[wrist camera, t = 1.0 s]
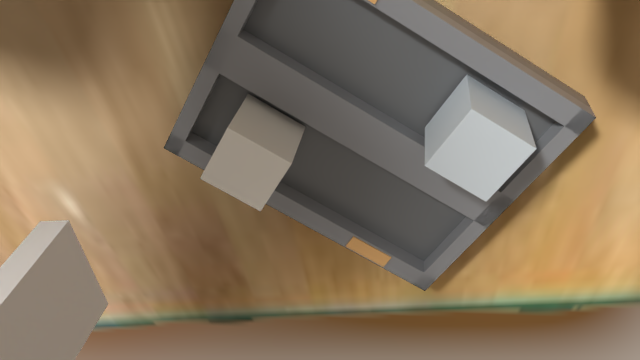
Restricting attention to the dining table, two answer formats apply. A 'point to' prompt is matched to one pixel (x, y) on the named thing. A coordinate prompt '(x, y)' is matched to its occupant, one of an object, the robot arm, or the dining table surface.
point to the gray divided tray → (372, 119)
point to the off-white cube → (254, 153)
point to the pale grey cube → (477, 139)
